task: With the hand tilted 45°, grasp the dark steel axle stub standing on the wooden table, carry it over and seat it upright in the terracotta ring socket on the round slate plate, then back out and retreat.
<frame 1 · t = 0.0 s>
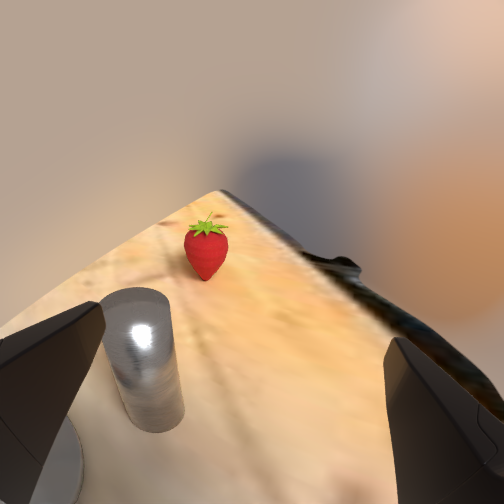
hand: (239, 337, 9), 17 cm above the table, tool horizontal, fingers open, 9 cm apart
strawberry: (206, 280, 44), on the table
steel axle stub: (156, 409, 23), on the table
slate seat plate: (4, 457, 14), on the table
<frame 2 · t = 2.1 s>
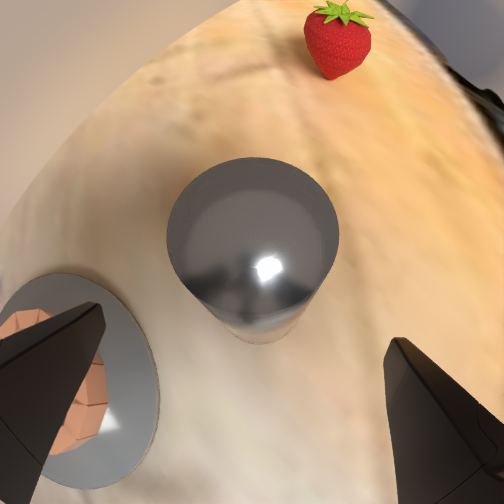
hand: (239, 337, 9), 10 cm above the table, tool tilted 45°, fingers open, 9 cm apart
strawberry: (330, 79, 27), on the table
steel axle stub: (260, 304, 19), on the table
slate seat plate: (59, 383, 17), on the table
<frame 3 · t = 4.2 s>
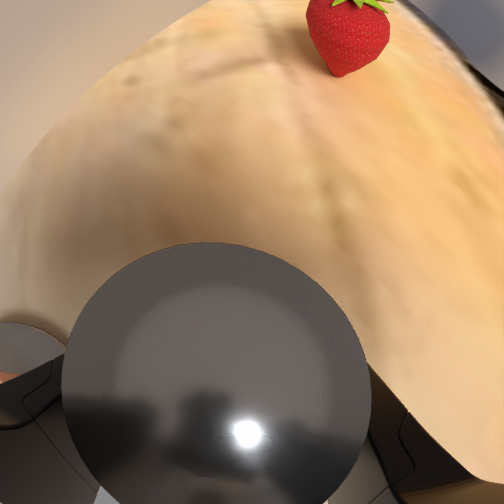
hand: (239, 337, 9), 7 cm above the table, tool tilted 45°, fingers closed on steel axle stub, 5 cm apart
strawberry: (338, 76, 22), on the table
steel axle stub: (247, 375, 14), on the table, touching gripper
slate seat plate: (27, 442, 13), on the table
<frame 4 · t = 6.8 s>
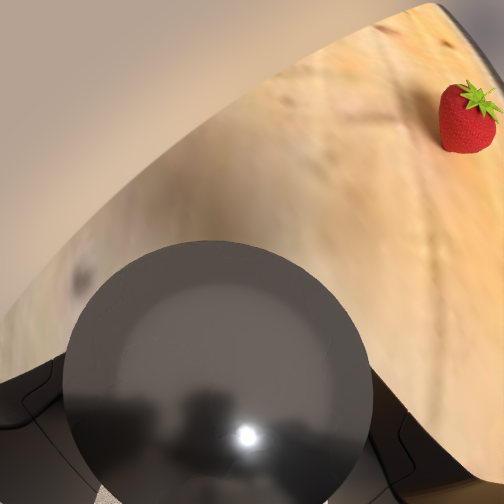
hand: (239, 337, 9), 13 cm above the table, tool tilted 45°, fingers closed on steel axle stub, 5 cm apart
strawberry: (445, 149, 27), on the table
steel axle stub: (248, 375, 14), point 7 cm above the table, touching gripper
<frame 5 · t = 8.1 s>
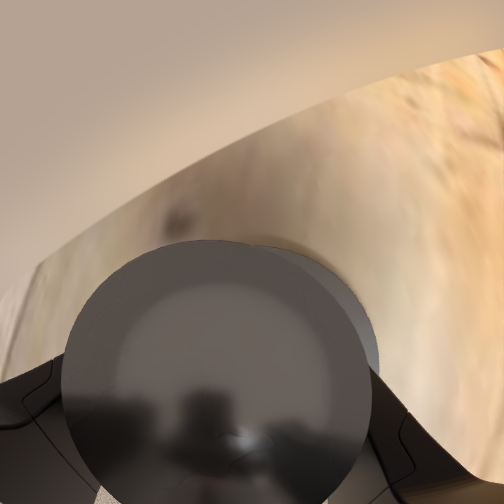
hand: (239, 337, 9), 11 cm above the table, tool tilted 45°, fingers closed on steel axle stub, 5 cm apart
steel axle stub: (247, 374, 14), point 5 cm above the table, touching gripper
slate seat plate: (252, 370, 19), on the table
when the fingers open (9 cm above the table, at t = 9.3 s): steel axle stub drops 1 cm, resting on slate seat plate.
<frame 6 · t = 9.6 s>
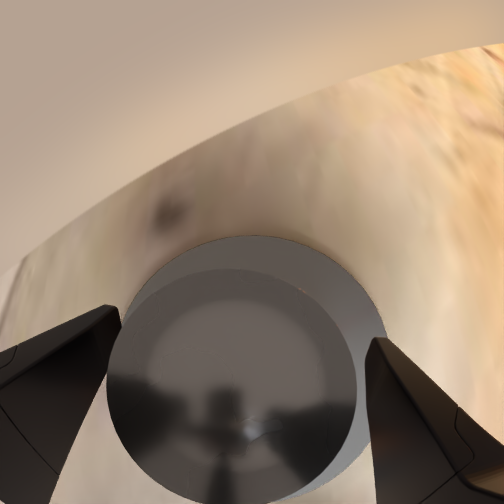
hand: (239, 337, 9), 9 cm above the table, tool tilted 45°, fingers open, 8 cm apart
steel axle stub: (248, 375, 16), point 1 cm above the table, touching slate seat plate
slate seat plate: (250, 373, 17), on the table
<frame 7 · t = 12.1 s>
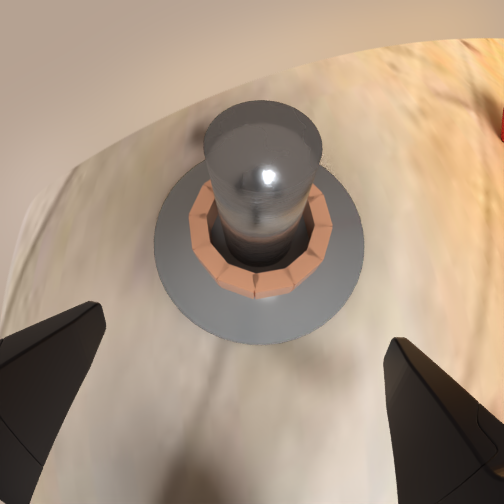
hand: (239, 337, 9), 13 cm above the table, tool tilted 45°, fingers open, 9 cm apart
strawberry: (502, 141, 28), on the table
steel axle stub: (258, 234, 23), point 1 cm above the table, touching slate seat plate
slate seat plate: (259, 238, 24), on the table
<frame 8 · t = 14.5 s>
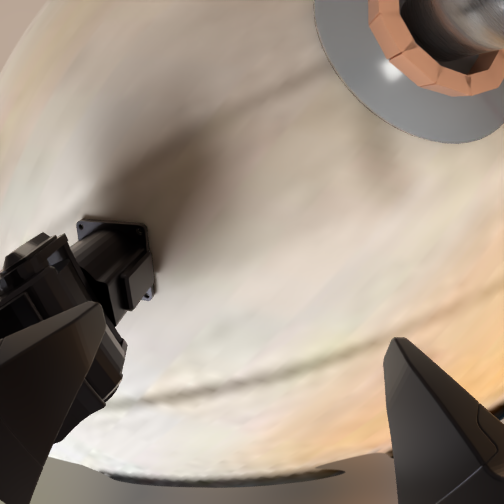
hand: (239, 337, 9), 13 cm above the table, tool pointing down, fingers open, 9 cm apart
steel axle stub: (435, 27, 13), point 1 cm above the table, touching slate seat plate
slate seat plate: (430, 30, 14), on the table
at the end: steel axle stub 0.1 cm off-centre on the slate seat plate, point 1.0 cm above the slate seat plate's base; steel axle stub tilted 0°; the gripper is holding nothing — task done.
